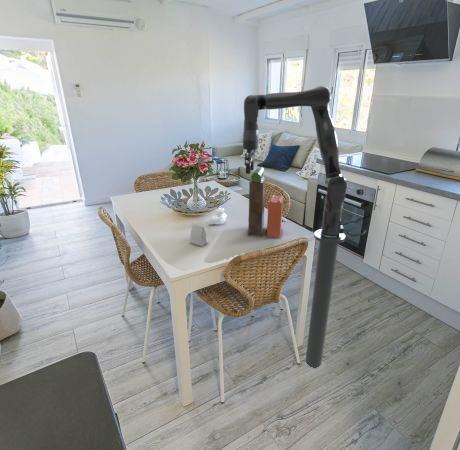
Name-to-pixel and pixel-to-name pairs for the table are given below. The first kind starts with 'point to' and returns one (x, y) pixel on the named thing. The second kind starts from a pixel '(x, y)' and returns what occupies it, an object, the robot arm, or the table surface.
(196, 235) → the grey tapered block
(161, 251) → the table surface
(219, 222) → the bust
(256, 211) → the post
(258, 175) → the bottle
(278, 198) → the bottle holder
